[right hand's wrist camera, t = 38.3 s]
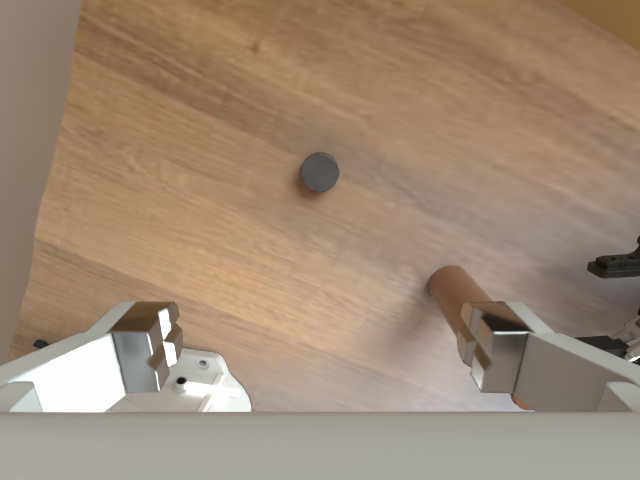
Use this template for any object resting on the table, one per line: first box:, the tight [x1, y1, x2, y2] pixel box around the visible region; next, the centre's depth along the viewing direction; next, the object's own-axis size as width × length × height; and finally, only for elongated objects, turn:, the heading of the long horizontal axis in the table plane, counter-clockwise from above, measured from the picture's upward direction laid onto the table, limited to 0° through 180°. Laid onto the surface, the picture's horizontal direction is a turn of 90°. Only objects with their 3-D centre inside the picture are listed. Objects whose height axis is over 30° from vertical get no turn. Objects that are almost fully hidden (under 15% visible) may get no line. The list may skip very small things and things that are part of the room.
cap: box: [302, 152, 339, 192], centre depth 36 cm, size 4×4×2 cm
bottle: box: [428, 266, 533, 410], centre depth 33 cm, size 5×5×17 cm
